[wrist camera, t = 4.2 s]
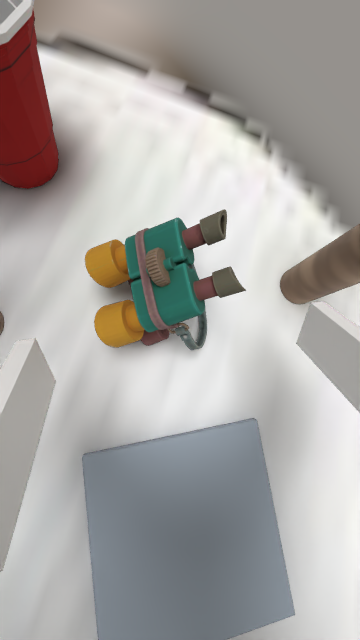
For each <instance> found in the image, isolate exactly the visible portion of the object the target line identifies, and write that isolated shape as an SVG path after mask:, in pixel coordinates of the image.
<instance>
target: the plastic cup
mask: <svg viewBox="0 0 360 640" xmlns="http://www.w3.org/2000/svg"><path fill="white" fill-rule="evenodd" d="M33 4H34V0H0V179H1V180H2V181H3V182H5V183H7V184H9V185H11V186H13V187H18V188H27V189H29V188H33V187H38V186H41V185H43V184H45V183H46V182H48V181H49V180H51V179H52V177H53V176H54V174H55V173H56V171H57V168H58V161H59V159H58V150H57V146H56V142H55V137H54V133H53V129H52V127H53V123H52V119H51V114H50V109H49V104H48V99H47V95H46V90H45V85H44V80H43V75H42V71H41V66H40V61H39V56H38V52H37V47H36V45H37V39H36V33H35V27H34V21H35V17H34V11H33Z"/></svg>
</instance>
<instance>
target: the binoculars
mask: <svg viewBox="0 0 360 640" xmlns="http://www.w3.org/2000/svg"><path fill="white" fill-rule="evenodd" d="M226 224H227V212H226V210H222V211H220V212H217V213H215V214H213V215H210V216H208V217H206V218H204V219H201V220H200V224H197V225H195V226H193V227H190V228H188V229H187V228H186V226H185V225H184V223H183V221H182V220H181V219H180V218H175V219H173V220H170V221H168V222H165V223H163V224H160V225H158V226H155V227H153V228H150V229H148V228H146V229H144V230H141V231H139V232H137V233H136V235H133V236H131V237H128V238H127V239H126V241H125V245H123V244H122V243H121V242H120V241H119V240H116V239H115V240H112V241H109V242H107V243H104V244H102V245H99V246H97V247H94V248H92V249H90V250H89V251H88V252H87V253H86V256H85V265H86V268H87V271H88V273H89V274H90V276H91V277H92V278H93V280H94V281H96V282H97V283H98V284H100V285H101V286H104V287H107V288H111V287H115V286H117V285H119V284H121V283H123V282H125V281H127V280H128V282H129V284H130V286H131V290H132V295H133V300H134V302H133V301H131V300H125V301H121V302H118V303H114V304H110V305H106V306H103V307H102V308H100V309H99V310H98V312H97V313H96V316H95V321H94V323H95V330H96V333H97V335H98V337H99V338H100V339H101V340H102V342H103V343H105V344H106V345H108V346H110V347H121V346H124V345H127V344H130V343H133V342H136V341H139V340H141V341H142V342H143V343H144V344H145V345H148V346H149V345H152V344H155V343H157V342H160V341H162V340H165V339H167V338H168V336H169V332H170V333H173V334H174V333H176V334H177V335H178V336H180V337H181V339H182V341H184V342H185V344H186V346H187V347H188V348H189V349H191V350H194V349H199V348H202V346H203V345H204V342H205V339H206V334H207V319H206V311H205V302H204V300H205V299H208V298H212V297H215V296H219V297H220V298H222V297H225V296H229V295H232V294H236V293H239V292H242V291H246V290H245V289H244V288H243V287H242V286H241V284H240V283H239V281H238V280H237V278H236V276H235V274H234V272H233V269H232V268H231V267H227V268H224V269H221V270H218V271H215V272H213V273H212V276H210V277H207V278H204V279H201V280H199V278H198V276H197V273H196V270H195V267H194V264H193V263H194V253H193V248H196V247H198V246H201V245H203V244H206V243H207V244H208V245H211V244H214V243H216V242H219V241H221V240H224V239H225V237H226ZM198 315H199V336H198V340H197V342H196V343H195V342H194V340H193V338H192V336H191V334H190V332H189V330H188V329H189V327H188V325H186V324H184V323H179V322H181V321H184V320H187V319H190V318H193V317H196V316H198ZM180 325H182V327H179V326H180ZM177 327H178V328H177ZM174 328H176V329H175V331H171V330H170V329H174Z"/></svg>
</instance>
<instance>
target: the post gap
mask: <svg viewBox="0 0 360 640" xmlns="http://www.w3.org/2000/svg"><path fill="white" fill-rule="evenodd" d="M358 283H360V224H358V225H357V226H355V227H354V228H352V229H351V230H349V231H348V232H346V233H345V234H343V235H342V236H340V237H339V238H337V239H335V240H334V241H332V242H331V243H329V244H328V245H326V246H325V247H323V248H322V249H320V250H319V251H317V252H316V253H314V254H312V255H311V256H309V257H308V258H306V259H305V260H303V261H302V262H300V263H299V264H297V265H296V266H294V267H293V268H291V269H289V270H288V271H286V272H285V273H284V274H283V276H282V278H281V281H280V287H281V291H282V293H283V295H284V296H285V298H286V299H288V300H289V301H290V302H292V303H295V304H304V303H307V302H310V301H312V300H315V299H318V298H320V297H323V296H326V295H328V294H331V293H334V292H336V291H339V290H342V289H344V288H347V287H350V286H353V285H355V284H358ZM3 327H4V318H3V315H2V313H1V312H0V334H1V333H2V331H3Z"/></svg>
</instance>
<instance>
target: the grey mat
mask: <svg viewBox="0 0 360 640" xmlns="http://www.w3.org/2000/svg"><path fill="white" fill-rule="evenodd" d="M82 461H83V473H84V484H85V496H86V507H87V518H88V530H89V541H90V553H91V564H92V576H93V587H94V599H95V610H96V621H97V633H98V640H227V639H229V638H232V637H235V636H238V635H241V634H243V633H246V632H249V631H252V630H254V629H257V628H260V627H263V626H265V625H268V624H271V623H274V622H277V621H279V620H282V619H285V618H288V617H290V616H293V615H295V612H294V607H293V601H292V596H291V591H290V586H289V581H288V576H287V571H286V566H285V561H284V556H283V551H282V545H281V540H280V535H279V530H278V525H277V520H276V515H275V510H274V505H273V500H272V495H271V489H270V484H269V479H268V474H267V469H266V464H265V459H264V454H263V449H262V444H261V439H260V433H259V428H258V423H257V420H256V419H254V418H253V419H248V420H243V421H238V422H234V423H229V424H224V425H219V426H215V427H210V428H205V429H200V430H196V431H191V432H186V433H181V434H177V435H172V436H167V437H162V438H158V439H153V440H148V441H144V442H139V443H134V444H129V445H125V446H120V447H115V448H110V449H106V450H101V451H96V452H91V453H87V454H84V455H83V457H82Z"/></svg>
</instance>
